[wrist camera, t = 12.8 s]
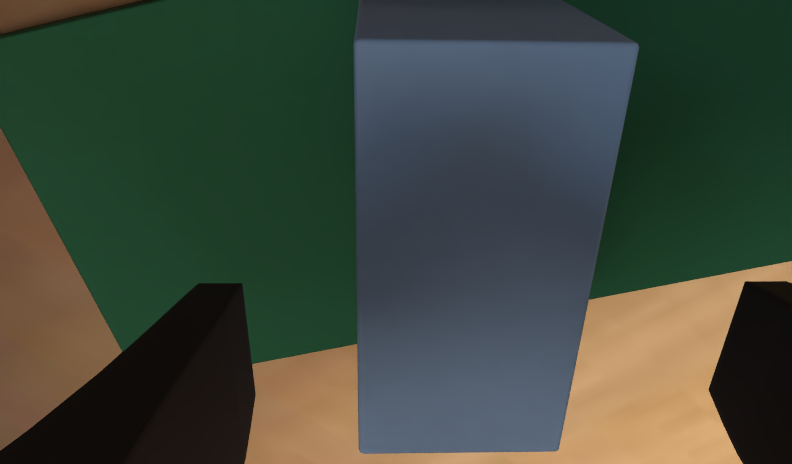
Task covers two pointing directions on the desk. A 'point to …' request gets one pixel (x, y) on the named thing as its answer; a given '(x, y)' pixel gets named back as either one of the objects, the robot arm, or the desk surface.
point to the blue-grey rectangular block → (478, 215)
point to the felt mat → (335, 153)
